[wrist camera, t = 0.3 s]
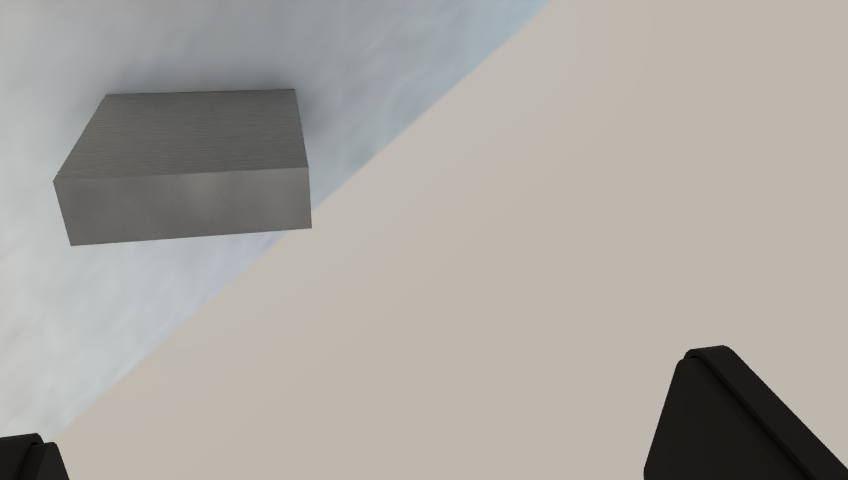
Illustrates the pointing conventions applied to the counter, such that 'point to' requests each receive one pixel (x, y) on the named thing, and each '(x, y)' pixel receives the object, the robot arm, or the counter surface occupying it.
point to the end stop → (186, 167)
